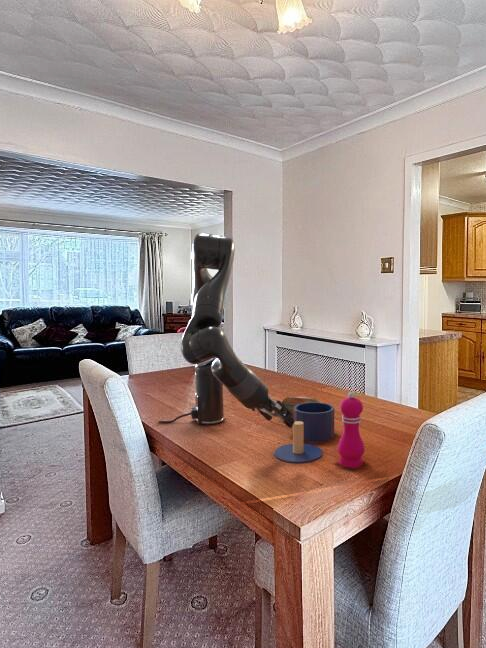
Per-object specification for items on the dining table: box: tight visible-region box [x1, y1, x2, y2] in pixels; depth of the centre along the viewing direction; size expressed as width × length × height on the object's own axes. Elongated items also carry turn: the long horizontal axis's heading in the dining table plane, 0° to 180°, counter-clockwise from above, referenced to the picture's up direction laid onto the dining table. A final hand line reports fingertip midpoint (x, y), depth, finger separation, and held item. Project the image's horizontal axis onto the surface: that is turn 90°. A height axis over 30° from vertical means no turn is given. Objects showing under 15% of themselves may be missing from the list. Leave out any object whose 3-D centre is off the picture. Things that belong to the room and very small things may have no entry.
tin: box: [281, 395, 320, 420], centre depth 160 cm, size 15×3×8 cm, turn 68°
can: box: [294, 401, 335, 443], centre depth 144 cm, size 13×13×9 cm
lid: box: [273, 421, 323, 464], centre depth 128 cm, size 14×14×10 cm
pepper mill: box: [337, 391, 366, 469], centre depth 121 cm, size 7×7×20 cm
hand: (281, 421), depth 123 cm, fingers open, 8 cm apart
